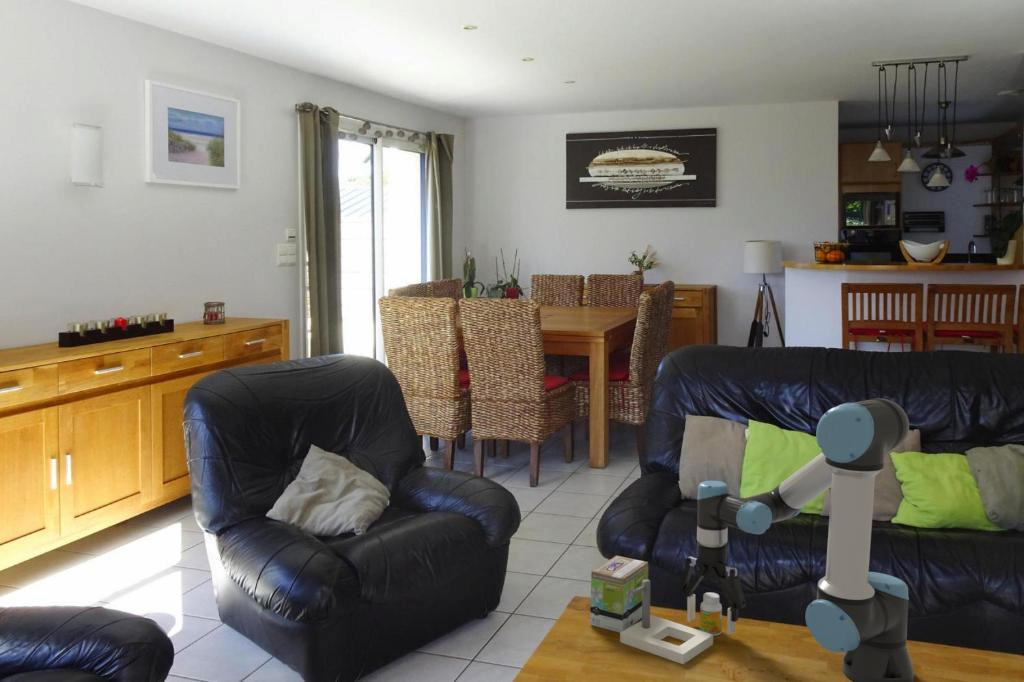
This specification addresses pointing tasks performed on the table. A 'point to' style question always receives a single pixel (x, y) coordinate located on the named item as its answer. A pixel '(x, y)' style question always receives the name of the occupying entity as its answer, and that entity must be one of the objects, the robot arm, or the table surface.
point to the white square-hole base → (663, 634)
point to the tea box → (617, 593)
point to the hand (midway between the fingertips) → (710, 626)
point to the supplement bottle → (711, 614)
